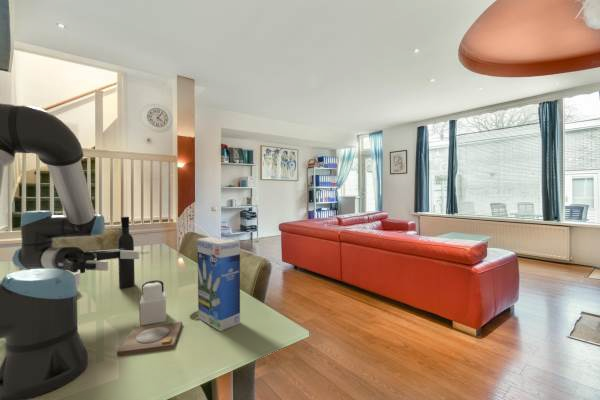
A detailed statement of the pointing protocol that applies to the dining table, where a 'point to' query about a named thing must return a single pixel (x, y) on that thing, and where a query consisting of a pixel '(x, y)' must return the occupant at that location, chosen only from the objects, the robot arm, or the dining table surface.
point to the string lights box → (219, 282)
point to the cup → (77, 278)
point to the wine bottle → (126, 264)
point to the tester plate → (151, 338)
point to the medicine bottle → (152, 303)
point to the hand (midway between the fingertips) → (124, 260)
